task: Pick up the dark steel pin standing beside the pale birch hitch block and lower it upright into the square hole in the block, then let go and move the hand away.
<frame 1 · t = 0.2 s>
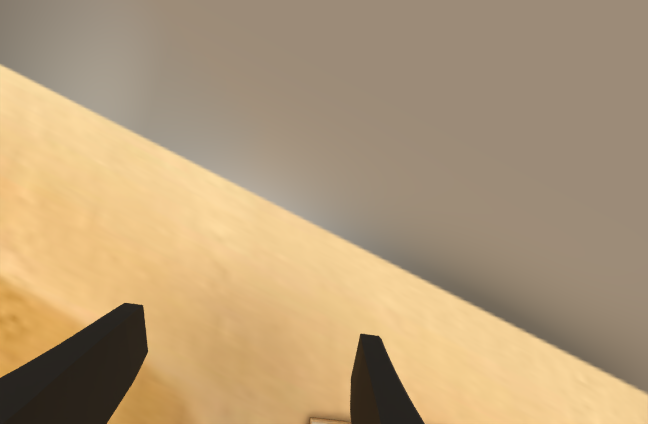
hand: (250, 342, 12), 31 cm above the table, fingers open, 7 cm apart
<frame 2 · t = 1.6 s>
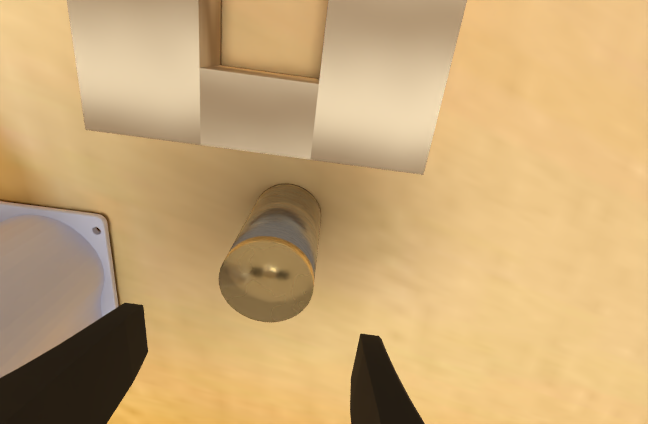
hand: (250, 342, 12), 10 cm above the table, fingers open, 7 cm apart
hitch block: (274, 14, 17), on the table
pin: (287, 215, 22), on the table
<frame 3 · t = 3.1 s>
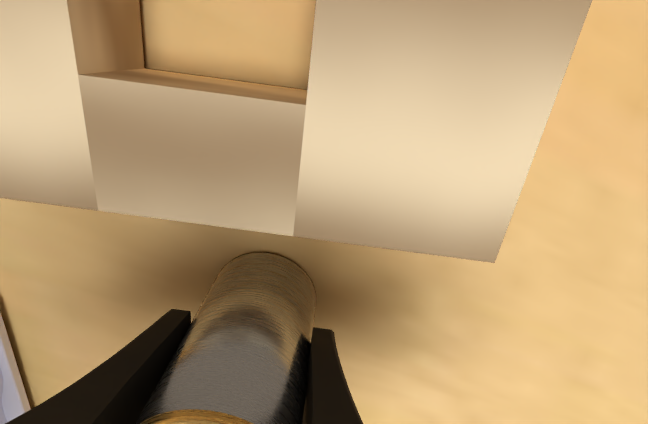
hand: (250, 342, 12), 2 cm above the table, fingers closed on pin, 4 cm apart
pin: (265, 296, 14), on the table, touching gripper
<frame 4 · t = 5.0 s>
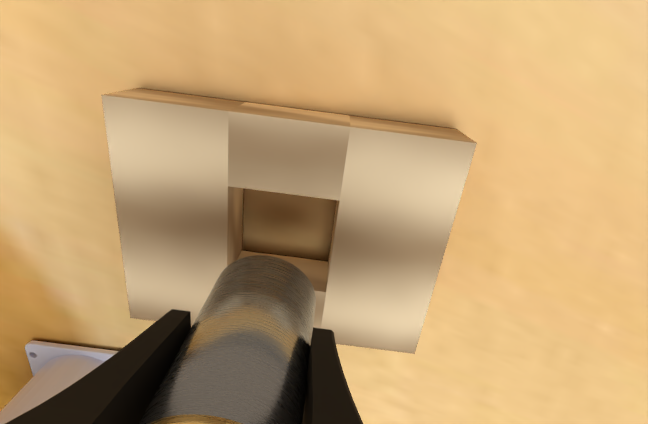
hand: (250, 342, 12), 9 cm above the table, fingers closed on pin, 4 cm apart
hitch block: (288, 216, 21), on the table
pin: (265, 298, 14), point 7 cm above the table, touching gripper
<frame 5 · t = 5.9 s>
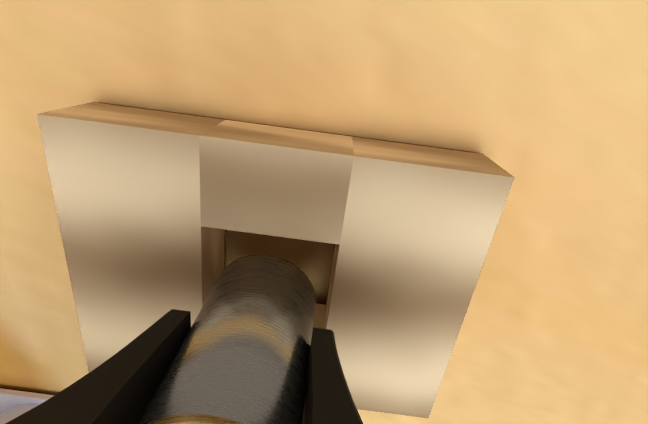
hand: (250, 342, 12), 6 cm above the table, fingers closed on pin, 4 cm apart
hitch block: (278, 253, 17), on the table
pin: (265, 298, 14), point 3 cm above the table, touching gripper
when the fingers open (4 cm above the table, at t = 6.8 s): pin drops 1 cm, resting in hitch block.
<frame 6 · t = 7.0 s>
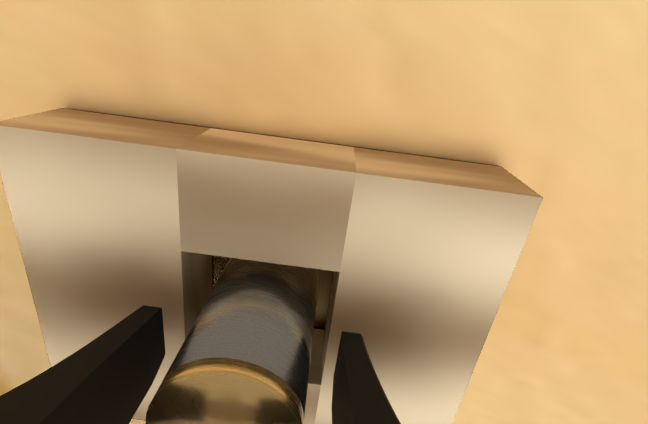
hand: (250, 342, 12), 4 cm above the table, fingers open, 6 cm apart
hitch block: (272, 275, 16), on the table
pin: (272, 277, 16), resting in hitch block
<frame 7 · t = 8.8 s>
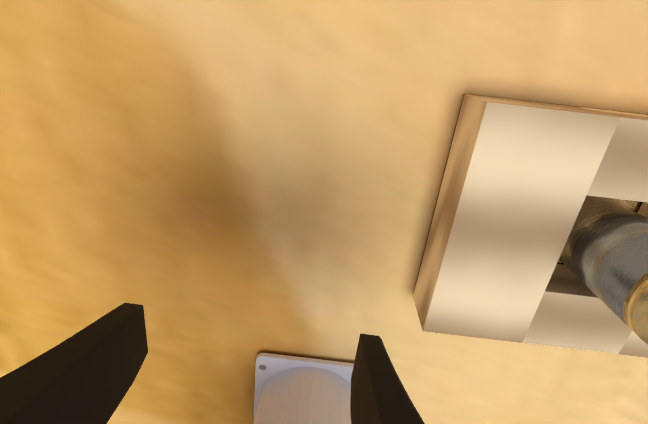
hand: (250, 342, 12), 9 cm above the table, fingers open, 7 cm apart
hitch block: (581, 224, 20), on the table
pin: (580, 226, 20), resting in hitch block
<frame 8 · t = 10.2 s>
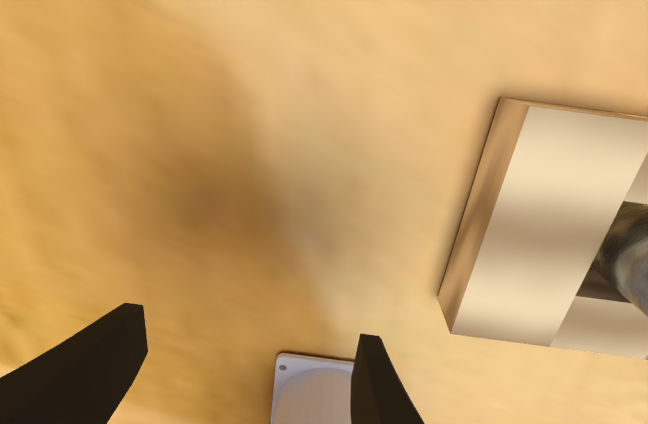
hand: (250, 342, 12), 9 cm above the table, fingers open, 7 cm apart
hitch block: (609, 229, 20), on the table
pin: (608, 231, 20), resting in hitch block
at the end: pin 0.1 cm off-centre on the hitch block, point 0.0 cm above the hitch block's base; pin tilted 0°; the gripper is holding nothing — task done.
